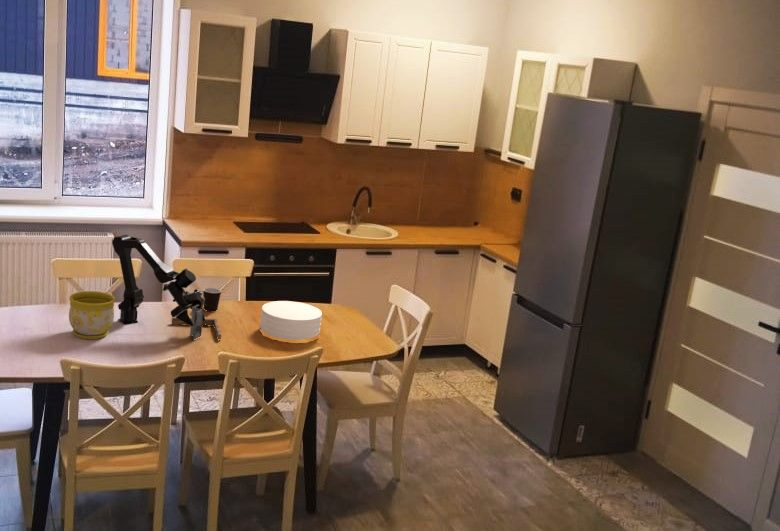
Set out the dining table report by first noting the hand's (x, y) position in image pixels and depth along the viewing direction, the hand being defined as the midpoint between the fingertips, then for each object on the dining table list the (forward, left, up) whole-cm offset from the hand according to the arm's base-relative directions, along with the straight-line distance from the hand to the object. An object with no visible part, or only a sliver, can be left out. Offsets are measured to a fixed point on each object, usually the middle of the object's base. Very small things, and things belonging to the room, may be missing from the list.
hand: (198, 323), depth 347 cm
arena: (+4, +7, -7) cm, 11 cm away
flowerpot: (-37, +24, -8) cm, 45 cm away
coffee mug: (+30, +32, -8) cm, 45 cm away
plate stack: (+43, -12, -8) cm, 45 cm away
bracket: (-1, +2, -7) cm, 8 cm away
